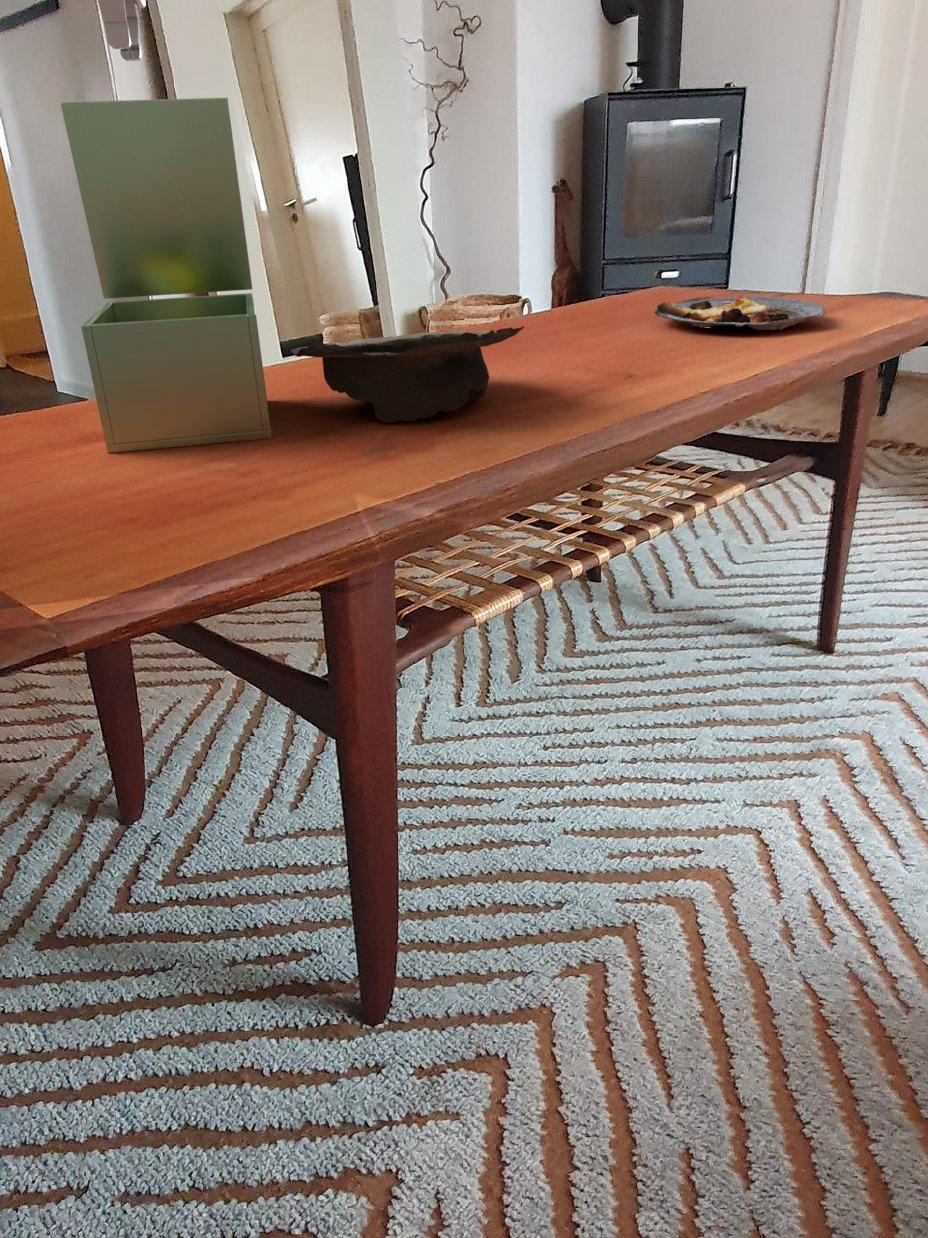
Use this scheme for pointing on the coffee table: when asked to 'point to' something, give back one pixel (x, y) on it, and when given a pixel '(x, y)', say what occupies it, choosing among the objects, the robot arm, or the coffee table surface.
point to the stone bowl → (409, 370)
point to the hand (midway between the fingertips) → (126, 54)
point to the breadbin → (177, 372)
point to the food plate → (741, 311)
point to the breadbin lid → (160, 195)
